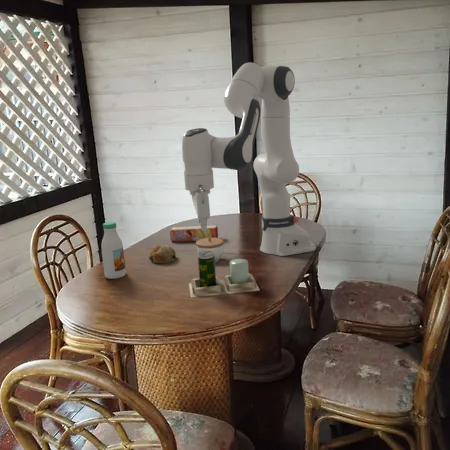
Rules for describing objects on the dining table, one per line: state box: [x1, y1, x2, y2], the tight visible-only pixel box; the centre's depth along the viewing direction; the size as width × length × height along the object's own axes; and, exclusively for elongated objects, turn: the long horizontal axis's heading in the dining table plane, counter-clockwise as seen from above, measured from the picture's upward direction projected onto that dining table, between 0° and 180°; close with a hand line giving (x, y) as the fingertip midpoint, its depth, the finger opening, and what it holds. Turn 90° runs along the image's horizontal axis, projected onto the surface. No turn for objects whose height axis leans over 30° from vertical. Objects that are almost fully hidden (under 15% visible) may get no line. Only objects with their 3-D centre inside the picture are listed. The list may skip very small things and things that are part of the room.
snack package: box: [169, 224, 219, 243], centre depth 212 cm, size 21×7×7 cm, turn 83°
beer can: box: [197, 251, 217, 287], centre depth 153 cm, size 5×5×12 cm
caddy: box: [188, 273, 261, 298], centre depth 155 cm, size 22×12×3 cm, turn 97°
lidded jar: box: [195, 237, 225, 263], centre depth 184 cm, size 11×11×9 cm
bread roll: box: [148, 244, 177, 264], centre depth 188 cm, size 10×10×8 cm
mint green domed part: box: [229, 258, 249, 284], centre depth 154 cm, size 6×6×8 cm
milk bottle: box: [101, 221, 127, 280], centre depth 172 cm, size 8×8×20 cm
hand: (202, 226), depth 149 cm, fingers open, 8 cm apart
